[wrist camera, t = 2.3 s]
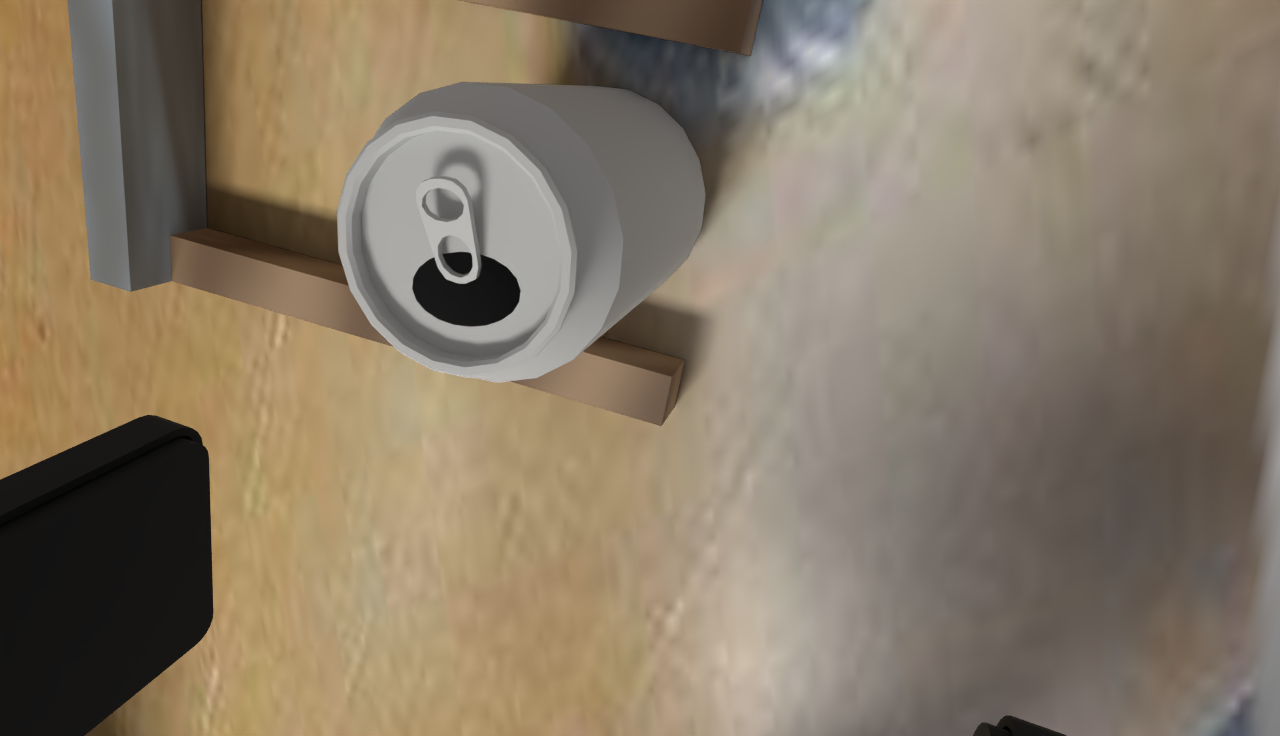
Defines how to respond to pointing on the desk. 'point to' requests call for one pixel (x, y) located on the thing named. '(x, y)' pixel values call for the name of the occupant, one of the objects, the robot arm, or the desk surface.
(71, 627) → the robot arm
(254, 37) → the desk surface
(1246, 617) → the desk surface
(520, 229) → the can
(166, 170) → the channel
